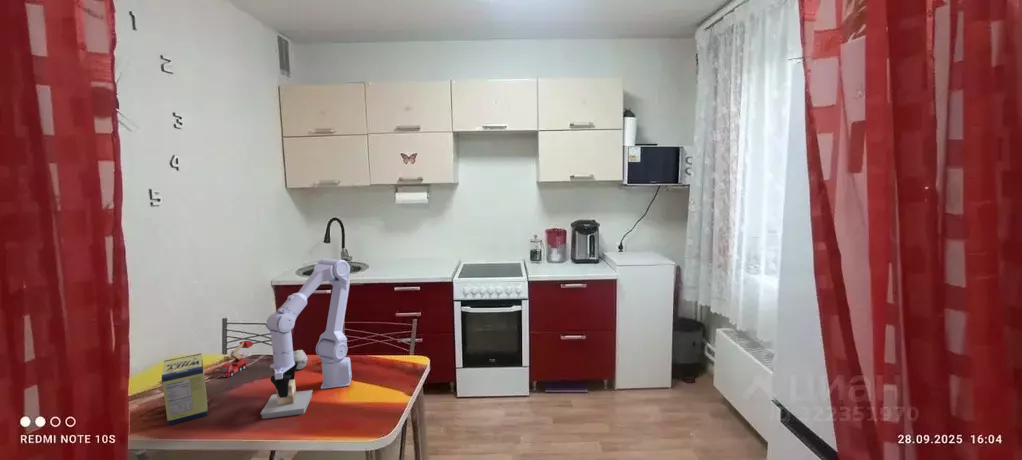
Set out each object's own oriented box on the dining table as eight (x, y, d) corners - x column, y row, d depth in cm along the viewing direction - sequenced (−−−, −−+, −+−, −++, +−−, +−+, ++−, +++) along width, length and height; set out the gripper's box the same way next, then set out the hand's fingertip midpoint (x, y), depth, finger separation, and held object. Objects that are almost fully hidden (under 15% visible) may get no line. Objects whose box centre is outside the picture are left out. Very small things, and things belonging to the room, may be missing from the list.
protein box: (207, 396, 161) (201, 352, 159) (208, 415, 148) (203, 367, 146) (169, 405, 155) (163, 360, 153) (167, 426, 143) (160, 377, 140)
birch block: (296, 396, 155) (294, 379, 154) (293, 403, 150) (291, 385, 150) (281, 398, 154) (279, 381, 153) (278, 405, 149) (276, 387, 149)
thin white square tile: (313, 396, 160) (312, 389, 159) (305, 415, 147) (304, 408, 147) (272, 401, 157) (272, 394, 157) (261, 421, 145) (260, 413, 145)
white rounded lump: (306, 363, 186) (304, 346, 185) (310, 369, 181) (308, 351, 180) (289, 367, 183) (287, 350, 182) (292, 373, 177) (291, 355, 176)
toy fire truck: (220, 377, 176) (217, 352, 174) (247, 362, 189) (245, 339, 188) (228, 378, 175) (225, 353, 174) (255, 363, 188) (252, 339, 187)
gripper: (275, 343, 156) (279, 382, 158) (262, 360, 142) (266, 403, 144) (298, 341, 157) (302, 380, 159) (287, 358, 143) (291, 400, 145)
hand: (286, 391), depth 152 cm, fingers open, 7 cm apart
